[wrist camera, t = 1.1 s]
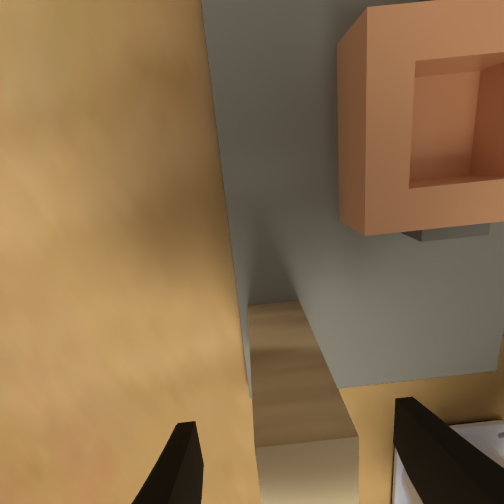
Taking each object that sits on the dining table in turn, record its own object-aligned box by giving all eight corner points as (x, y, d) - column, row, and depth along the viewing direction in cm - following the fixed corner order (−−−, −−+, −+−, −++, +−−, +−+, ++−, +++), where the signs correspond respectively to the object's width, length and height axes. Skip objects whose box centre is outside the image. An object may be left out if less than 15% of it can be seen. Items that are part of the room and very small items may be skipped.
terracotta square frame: (489, 216, 16) (551, 229, 13) (339, 232, 16) (364, 249, 13) (516, 11, 13) (604, -38, 10) (336, 28, 13) (367, -15, 10)
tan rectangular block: (301, 345, 18) (358, 510, 9) (252, 350, 18) (263, 521, 9) (298, 300, 17) (358, 436, 9) (247, 305, 17) (254, 447, 9)
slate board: (484, 361, 20) (497, 371, 19) (249, 387, 20) (249, 398, 19) (545, -42, 14) (568, -57, 13) (201, -8, 14) (198, -21, 13)
